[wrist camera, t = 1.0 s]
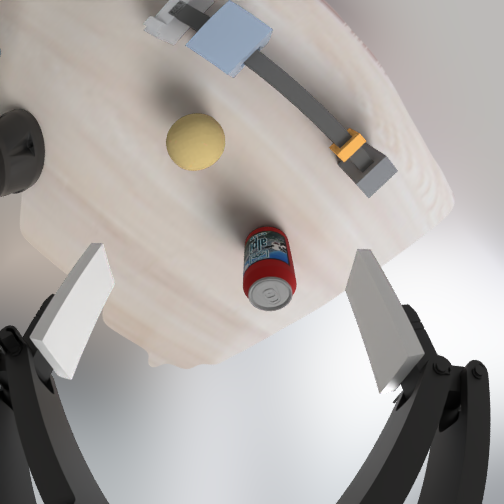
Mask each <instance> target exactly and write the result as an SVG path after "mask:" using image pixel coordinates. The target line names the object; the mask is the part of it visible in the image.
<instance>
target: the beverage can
mask: <svg viewBox="0 0 504 504" xmlns="http://www.w3.org/2000/svg"><path fill="white" fill-rule="evenodd" d="M243 290H244V293H245V295H246V296H247V298H248V299H249V301H250V302H251V304H252V305H253V306H254V307H256V308H258V309H260V310H264V311H275V310H279V309H281V308H283V307H285V306H286V305H287V304H288V303H289V302H290V301H291V299H292V296H293V294H294V292H295V290H296V278H295V272H294V266H293V261H292V256H291V251H290V246H289V242H288V239H287V237H286V235H285V234H284V233H283V232H282V231H281V230H279V229H277V228H274V227H261V228H258V229H256V230H254V231H252V232H251V233H250V234H249V236H248V237H247V239H246V242H245V252H244V272H243Z"/></svg>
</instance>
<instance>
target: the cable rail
mask: <svg viewBox="0 0 504 504" xmlns="http://www.w3.org/2000/svg"><path fill="white" fill-rule="evenodd" d="M213 3H214V0H169V1H168V2H167V3H166V5H165V6H164V7H163V8H162V9H161V10H160V11H159V12H158V13H157V15H156V16H155V17H152V16H149V17H148V19H147V20H146V21H145V22H144V23H143V25H145V26H146V28H145V29H144V31H146V32H147V33H149V34H151V35H153V36H154V37H156V38H158V39H160V40H163V41H165V42H167V43H170V44H172V45H175V44H176V42H177V41H178V40H179V39H180V38H181V37H182V35H183V34H184V33H185V32H186V31H187V30H188V29H189V28H190V27H191V28H192V29H194V30H195V31H197V32H198V31H199V30H200V29H201V27H202V26H203V25H204V24H205V23H206V22H207V21H208V20H209V19H210V17H209V16H207V15H206V14H204V12H205V11H206V10H207V9H208V8H209V7H210V6H211V5H212V4H213ZM244 64H245V65H246V66H248V67H249V68H250V69H251V70H253V71H254V72H255V73H257V74H258V75H259V76H260V77H262V78H263V79H264V80H265V81H267V82H268V83H269V84H270V85H271V86H273V87H274V88H275V89H276V90H277V91H279V92H280V93H281V94H282V95H283V96H284V97H286V98H287V99H288V100H289V101H290V102H291V103H292V104H294V105H295V106H296V107H297V108H298V109H299V110H300V111H301V112H302V113H303V114H305V115H306V116H307V117H308V118H309V119H310V120H311V121H312V122H313V123H314V124H315V125H316V126H317V127H318V128H319V129H320V130H321V131H322V132H323V133H324V134H325V135H326V136H327V137H328V138H329V139H330V140H331V141H332V142H333V144H332V145H331V146H330V147H329V148H330V149H331V150H332V151H333V152H334V153H335V154H336V155H337V156H338V157H339V158H340V159H341V160H342V161H341V162H340V163H339V164H338V165H339V166H340V167H341V168H342V170H343V171H344V172H345V173H346V174H347V175H348V176H349V177H350V178H351V179H352V180H353V181H354V182H355V183H356V185H357V186H358V187H359V188H360V189H361V190H362V191H363V192H364V193H365V195H366V196H367V197H368V198H370V197H371V196H372V195H373V194H374V193H375V192H376V191H377V190H378V189H379V188H380V187H381V186H383V185H384V184H385V183H386V182H387V181H388V180H389V179H390V178H391V177H392V176H393V175H394V174H395V173H396V172H397V169H396V168H395V167H394V165H393V164H392V163H391V161H390V160H389V159H388V157H387V156H386V155H384V154H382V153H381V152H379V151H378V150H376V149H375V148H373V147H371V146H370V145H368V144H366V143H365V142H366V140H365V139H364V138H363V137H362V136H361V134H360V133H358V132H356V131H354V130H352V129H350V128H349V129H348V130H346V129H345V128H344V127H343V126H342V125H341V124H340V123H339V122H338V121H337V120H336V119H335V118H334V117H333V116H332V115H331V114H330V113H329V112H328V111H327V110H326V109H325V108H324V107H323V106H322V105H321V104H320V103H319V102H318V101H317V100H316V99H315V98H314V97H313V96H312V95H311V94H310V93H308V92H307V91H306V90H305V89H304V88H303V87H302V86H301V85H300V84H299V83H297V82H296V81H295V80H294V79H293V78H292V77H291V76H289V75H288V74H287V73H286V72H285V71H283V70H282V69H281V68H280V67H279V66H277V65H276V64H275V63H274V62H273V61H271V60H270V59H269V58H267V57H266V56H265V55H264V54H262V53H261V52H260V51H258V50H256V51H255V52H254V53H253V54H252V55H251V56H250V57H249V58H248V59H247V60H246V61H245V62H244Z"/></svg>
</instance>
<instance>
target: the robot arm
mask: <svg viewBox="0 0 504 504" xmlns="http://www.w3.org/2000/svg"><path fill="white" fill-rule="evenodd" d="M0 55H1V50H0ZM44 157H45V148H44V140H43V136H42V132H41V129H40V127H39V125H38V123H37V121H36V120H35V118H34V117H33V116H32V115H31V114H30V113H29V112H27V111H25V110H21V109H16V110H13V111H10V112H7V113H5V114H3V115H1V116H0V197H2V196H6V195H9V194H11V193H20V192H23V191H25V190H26V189H28V188H29V187H31V186H32V185H33V184H34V183H35V182H36V181H37V180H38V178H39V177H40V174H41V172H42V169H43V165H44ZM114 285H115V281H114V278H113V275H112V272H111V269H110V266H109V262H108V259H107V256H106V252H105V249H104V245H103V243H91V244H90V245H89V247H88V248H87V249H86V251H85V252H84V253H83V255H82V256H81V257H80V259H79V260H78V262H77V263H76V264H75V266H74V267H73V269H72V270H71V271H70V273H69V274H68V276H67V277H66V279H65V280H64V282H63V283H62V285H61V286H60V288H59V289H58V291H57V292H56V294H52V295H50V296H49V297H48V298H47V299H46V300H45V301H44V303H43V304H42V306H41V307H40V310H38V312H37V314H36V317H34V319H33V320H32V322H31V324H30V325H29V327H28V329H27V331H26V332H25V334H24V336H23V337H22V336H21V335H20V333H19V331H18V330H17V329H16V328H15V327H14V326H6V327H5V328H3V329H2V330H1V331H0V386H1V387H0V504H37V503H36V499H35V495H34V491H33V487H32V482H31V477H30V472H29V468H30V471H31V474H32V476H33V479H34V481H35V484H36V486H37V489H38V490H39V493H40V495H41V498H42V500H43V502H44V504H109V503H108V501H107V500H106V498H105V497H104V495H103V493H102V491H101V490H100V488H99V486H98V484H97V483H96V481H95V480H94V477H93V475H92V473H91V472H90V470H89V468H88V466H87V464H86V462H85V460H84V458H83V456H82V453H81V451H80V449H79V447H78V445H77V442H76V440H75V438H74V436H73V433H72V430H71V428H70V425H69V423H68V420H67V418H66V415H65V412H64V409H63V406H62V404H61V401H60V398H59V395H58V391H57V388H56V385H55V381H54V378H53V377H52V375H51V373H52V370H54V371H55V372H56V373H57V374H58V376H60V377H63V378H67V379H70V380H72V377H73V375H74V372H75V370H76V367H77V365H78V362H79V360H80V357H81V355H82V353H83V350H84V348H85V346H86V343H87V341H88V339H89V336H90V334H91V332H92V330H93V328H94V325H95V323H96V321H97V319H98V317H99V315H100V313H101V311H102V309H103V307H104V304H105V302H106V300H107V298H108V296H109V294H110V293H111V291H112V289H113V287H114ZM345 291H346V293H347V296H348V299H349V302H350V304H351V307H352V310H353V313H354V315H355V318H356V321H357V324H358V327H359V329H360V333H361V335H362V339H363V341H364V344H365V347H366V351H367V354H368V356H369V360H370V363H371V366H372V370H373V372H374V376H375V380H376V383H377V386H378V390H379V393H380V394H382V393H387V392H392V391H395V390H396V389H397V388H398V387H399V385H400V384H401V386H402V389H403V391H402V392H401V393H400V394H399V395H398V397H397V398H396V399H395V400H394V401H393V403H395V402H396V401H397V402H396V405H395V407H394V409H393V411H392V413H391V415H390V417H389V419H388V421H387V423H386V425H385V427H384V429H383V431H382V433H381V434H380V436H379V438H378V440H377V442H376V444H375V445H374V447H373V449H372V451H371V452H370V454H369V456H368V457H367V459H366V461H365V462H364V464H363V465H362V467H361V469H360V470H359V472H358V473H357V475H356V476H355V478H354V479H353V481H352V482H351V484H350V485H349V487H348V488H347V489H346V491H345V492H344V494H343V495H342V496H341V498H340V499H339V500H338V502H337V503H336V504H403V503H404V501H405V499H406V497H407V495H408V494H409V492H410V490H411V488H412V486H413V484H414V482H415V480H416V478H417V476H418V474H419V472H420V470H421V467H422V465H423V463H424V461H425V458H426V456H427V454H428V451H429V449H430V453H429V458H428V463H427V469H426V473H425V478H424V482H423V486H422V489H421V493H420V497H419V500H418V504H482V500H483V495H484V490H485V483H486V477H487V469H488V459H489V446H490V392H489V378H488V372H487V369H486V367H485V366H484V365H483V364H482V363H481V362H480V361H477V360H472V361H470V362H469V363H468V364H467V365H466V366H465V367H461V366H452V365H451V363H450V362H449V361H448V360H447V359H446V358H444V357H443V356H439V355H437V353H436V351H435V349H434V347H433V345H432V343H431V340H430V338H429V336H428V334H427V332H426V330H425V329H424V326H423V324H422V323H421V322H420V319H419V317H418V315H417V313H416V312H415V311H414V309H413V308H412V307H411V306H410V305H408V304H407V305H401V303H400V301H399V299H398V297H397V296H396V294H395V292H394V290H393V288H392V286H391V284H390V283H389V281H388V279H387V277H386V276H385V274H384V272H383V270H382V269H381V267H380V265H379V263H378V261H377V260H376V258H375V256H374V255H373V253H372V251H371V250H370V249H357V252H356V256H355V259H354V263H353V266H352V270H351V273H350V276H349V279H348V283H347V286H346V289H345ZM430 446H431V447H430Z"/></svg>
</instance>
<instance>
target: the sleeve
mask: <svg viewBox="0 0 504 504" xmlns="http://www.w3.org/2000/svg"><path fill="white" fill-rule="evenodd" d="M272 31H273V29H272V28H270V27H269V26H268V25H266V24H265V23H263V22H262V21H261V20H259V19H258V18H256V17H255V16H253V15H252V14H251V13H249V12H248V11H246V10H245V9H243V8H241V7H240V6H238V5H237V4H235V3H234V2H232V1H230V0H229V1H228V2H227V3H226V4H225V5H223V6H222V7H221V8H220V9H219V10H218V11H217V12H216V13H215V14H214V15H213V16H212V17H211V18H210V19H209V20H208V21H207V22H206V23H205V24H204V25H203V26H202V27H201V29H200V30H199V31H198V32H197V33H196V34H195V35H194V36H193V37H192V38H191V39H190V41H189V42H188V43H187V44H186V45H185V46H187V47H188V48H190V49H191V50H193V51H194V52H196V53H197V54H199V55H200V56H202V57H203V58H205V59H206V60H208V61H209V62H211V63H212V64H214V65H215V66H216V67H218V68H219V69H221V70H222V71H223V72H225V73H226V74H227V75H229V76H231V77H233V78H234V77H235V76H236V75H237V74H238V73H239V72H240V71H241V70H242V69H243V68H244V66H245V64H244V62H245V61H246V60H247V59H248V58H249V57H250V56H251V55H252V54H253V53H254V52H255V51H256V50H258V51H260V50H261V49H262V48H263V47H264V46H265V45H267V44H268V42H269V39H270V37H271V34H272Z"/></svg>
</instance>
